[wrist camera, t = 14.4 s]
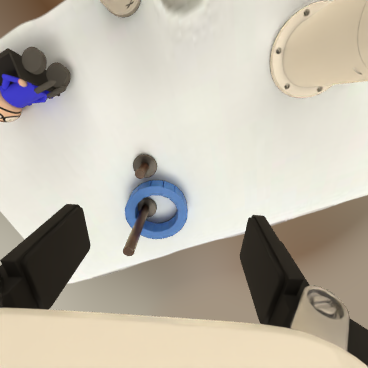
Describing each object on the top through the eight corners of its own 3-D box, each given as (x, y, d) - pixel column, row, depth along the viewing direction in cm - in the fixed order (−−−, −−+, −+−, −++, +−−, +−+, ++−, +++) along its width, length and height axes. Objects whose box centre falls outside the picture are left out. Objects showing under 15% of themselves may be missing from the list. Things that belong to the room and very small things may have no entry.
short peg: (157, 155, 38) (152, 162, 33) (156, 177, 40) (152, 187, 35) (133, 153, 38) (125, 160, 33) (134, 175, 40) (127, 185, 35)
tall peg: (156, 198, 42) (142, 241, 29) (156, 216, 44) (143, 263, 31) (135, 196, 42) (112, 239, 29) (136, 214, 44) (114, 262, 31)
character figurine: (84, 90, 33) (19, 122, 36) (57, 43, 30) (-12, 82, 33) (58, 92, 26) (-20, 131, 29) (20, 32, 23) (-64, 82, 26)
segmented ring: (188, 181, 40) (189, 187, 37) (184, 230, 45) (185, 239, 42) (126, 179, 39) (122, 185, 36) (130, 229, 44) (127, 238, 41)
